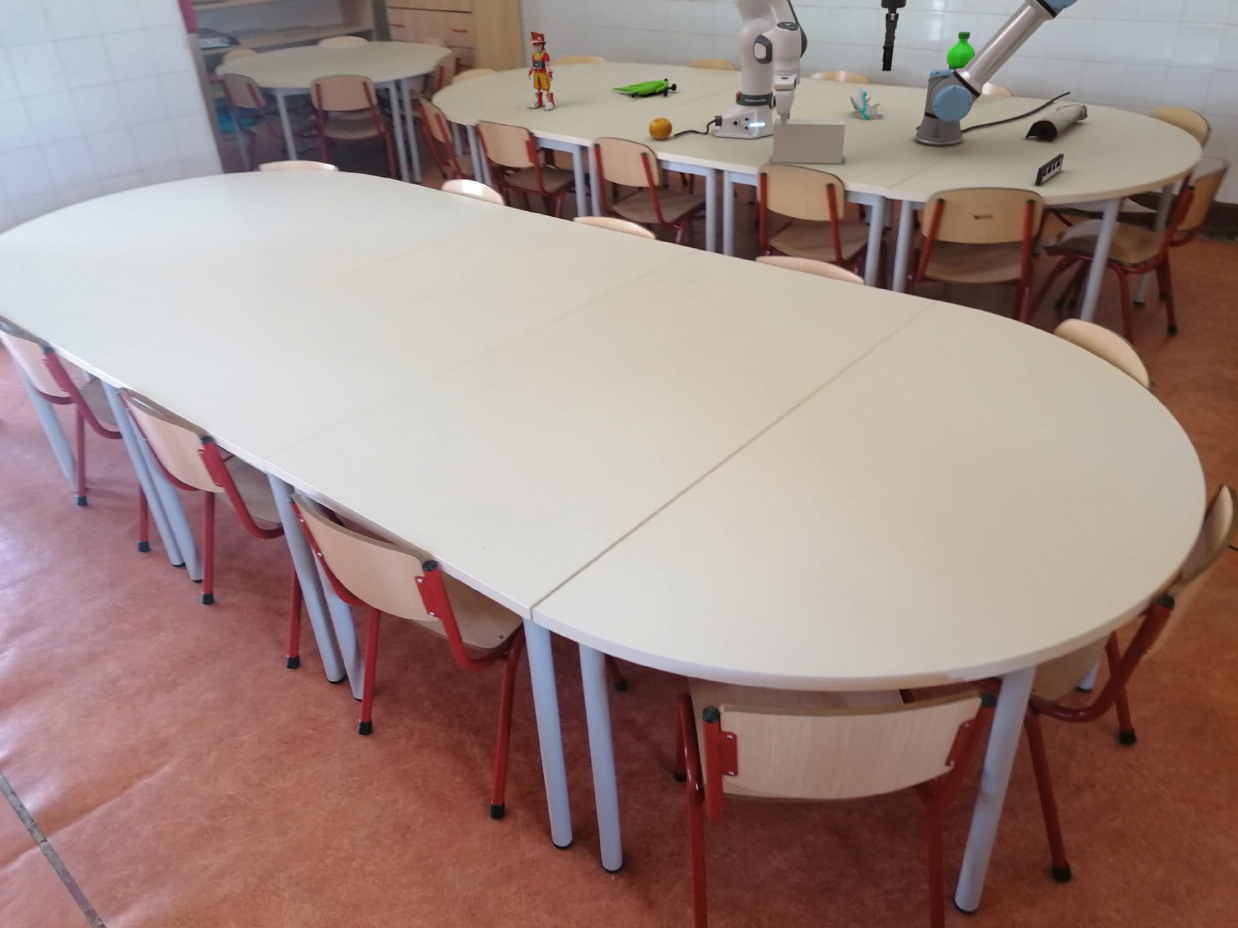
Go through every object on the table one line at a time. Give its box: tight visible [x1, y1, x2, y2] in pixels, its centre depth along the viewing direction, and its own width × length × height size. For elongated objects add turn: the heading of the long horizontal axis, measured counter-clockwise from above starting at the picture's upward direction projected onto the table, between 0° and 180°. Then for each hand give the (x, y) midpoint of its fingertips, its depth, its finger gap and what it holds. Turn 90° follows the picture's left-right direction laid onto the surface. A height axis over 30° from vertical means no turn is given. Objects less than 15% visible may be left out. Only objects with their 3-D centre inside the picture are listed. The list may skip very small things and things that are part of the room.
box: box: [771, 118, 846, 164], centre depth 299 cm, size 23×6×12 cm, turn 76°
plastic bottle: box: [946, 31, 976, 70], centre depth 348 cm, size 10×10×25 cm
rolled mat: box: [1024, 103, 1089, 142], centre depth 314 cm, size 30×9×10 cm
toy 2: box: [612, 78, 677, 99], centre depth 396 cm, size 28×5×30 cm
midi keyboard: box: [1035, 153, 1065, 186], centre depth 273 cm, size 18×1×5 cm, turn 138°
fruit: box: [648, 117, 673, 140], centre depth 332 cm, size 8×8×8 cm
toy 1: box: [527, 31, 556, 111], centre depth 374 cm, size 12×9×30 cm
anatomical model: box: [850, 88, 884, 120], centre depth 343 cm, size 15×10×10 cm
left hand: (785, 122), depth 297 cm, fingers open, 8 cm apart
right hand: (886, 66), depth 291 cm, fingers open, 13 cm apart
